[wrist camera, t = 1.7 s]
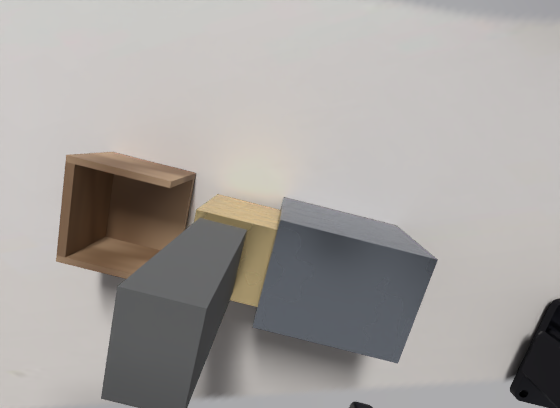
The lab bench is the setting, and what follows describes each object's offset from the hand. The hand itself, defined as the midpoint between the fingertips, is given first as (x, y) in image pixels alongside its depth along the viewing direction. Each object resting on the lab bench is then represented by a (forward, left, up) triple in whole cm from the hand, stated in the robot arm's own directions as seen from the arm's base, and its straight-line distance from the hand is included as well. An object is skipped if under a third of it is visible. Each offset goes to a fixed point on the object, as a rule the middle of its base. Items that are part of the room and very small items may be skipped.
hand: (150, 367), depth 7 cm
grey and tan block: (-3, 0, -10) cm, 10 cm away
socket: (+5, 0, -11) cm, 12 cm away
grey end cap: (-5, 0, -11) cm, 12 cm away
